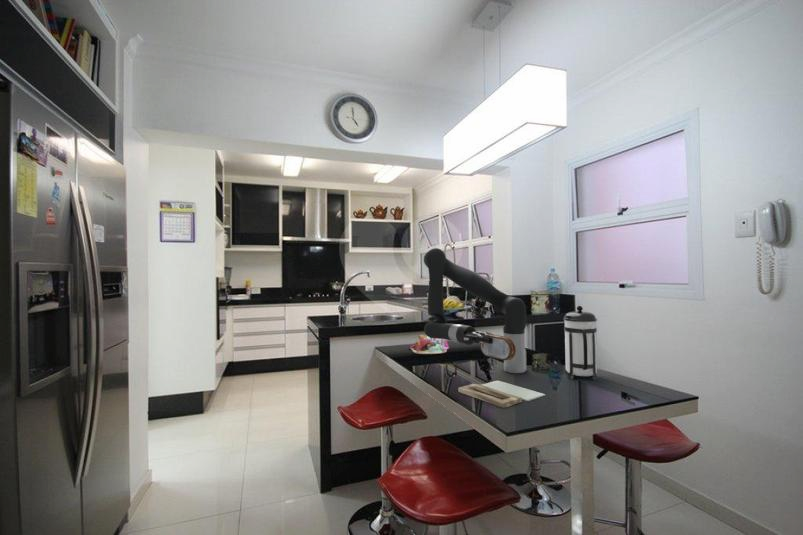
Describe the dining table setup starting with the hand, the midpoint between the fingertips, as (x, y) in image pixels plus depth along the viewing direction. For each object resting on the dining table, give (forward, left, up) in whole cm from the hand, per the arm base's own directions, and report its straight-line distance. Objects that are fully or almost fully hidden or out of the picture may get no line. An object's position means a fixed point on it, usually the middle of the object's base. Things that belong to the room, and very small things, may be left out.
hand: (494, 340), depth 138 cm
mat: (-7, +1, -20) cm, 21 cm away
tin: (0, +1, -7) cm, 7 cm away
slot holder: (+5, +1, -20) cm, 20 cm away
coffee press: (-45, +8, -20) cm, 50 cm away
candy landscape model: (-32, -78, -20) cm, 86 cm away
